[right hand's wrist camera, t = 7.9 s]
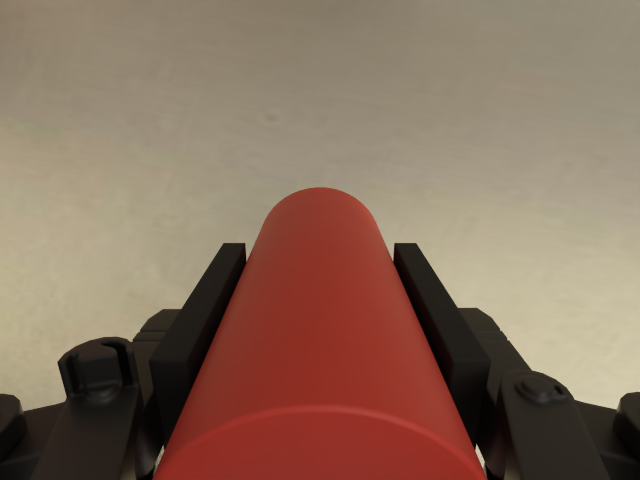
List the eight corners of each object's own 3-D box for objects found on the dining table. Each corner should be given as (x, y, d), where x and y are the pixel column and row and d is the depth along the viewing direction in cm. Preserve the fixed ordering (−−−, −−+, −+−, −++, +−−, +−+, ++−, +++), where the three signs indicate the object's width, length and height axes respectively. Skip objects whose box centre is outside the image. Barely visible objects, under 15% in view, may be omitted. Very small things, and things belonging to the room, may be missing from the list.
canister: (283, 312, 18) (223, 676, 7) (241, 208, 17) (67, 464, 5) (393, 281, 18) (525, 620, 6) (361, 170, 16) (464, 361, 5)
